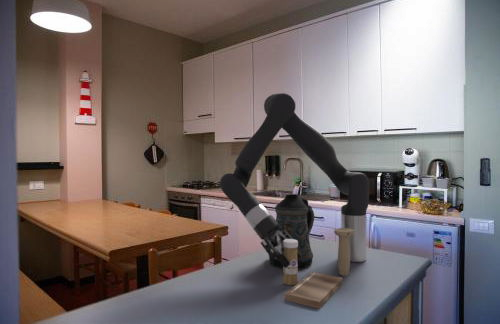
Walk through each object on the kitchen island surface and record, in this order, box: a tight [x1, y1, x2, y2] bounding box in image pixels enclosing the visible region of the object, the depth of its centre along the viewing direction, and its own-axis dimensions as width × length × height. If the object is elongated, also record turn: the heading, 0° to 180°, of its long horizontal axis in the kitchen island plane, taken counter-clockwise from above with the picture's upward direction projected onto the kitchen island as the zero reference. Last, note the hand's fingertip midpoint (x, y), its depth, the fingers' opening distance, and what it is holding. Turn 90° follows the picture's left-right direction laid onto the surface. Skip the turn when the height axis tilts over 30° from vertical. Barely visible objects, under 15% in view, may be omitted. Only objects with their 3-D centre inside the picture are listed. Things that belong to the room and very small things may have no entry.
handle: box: [333, 227, 354, 277], centre depth 112 cm, size 5×6×15 cm
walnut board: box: [284, 271, 344, 310], centre depth 99 cm, size 20×10×2 cm, turn 148°
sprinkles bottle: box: [282, 239, 299, 286], centre depth 105 cm, size 5×5×14 cm
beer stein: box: [268, 194, 315, 270], centre depth 127 cm, size 16×19×25 cm
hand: (294, 262), depth 104 cm, fingers open, 8 cm apart
